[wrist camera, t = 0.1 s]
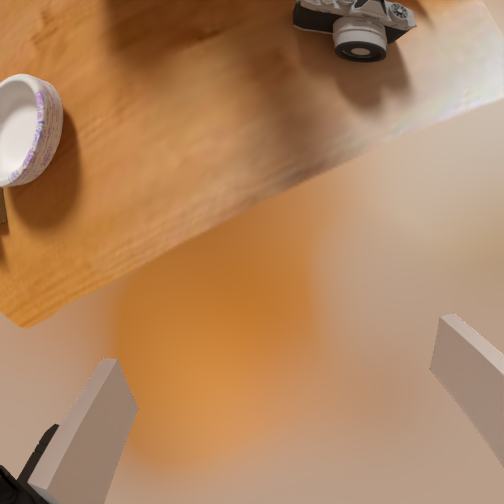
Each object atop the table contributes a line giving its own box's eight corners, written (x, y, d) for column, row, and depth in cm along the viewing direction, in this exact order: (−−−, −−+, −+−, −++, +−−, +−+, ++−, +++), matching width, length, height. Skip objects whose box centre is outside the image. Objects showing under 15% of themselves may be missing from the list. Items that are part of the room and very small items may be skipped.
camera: (287, 55, 32) (300, 22, 23) (287, 2, 30) (298, -38, 20) (397, 74, 33) (435, 54, 23) (392, 22, 31) (424, -5, 21)
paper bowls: (10, 92, 31) (-21, 85, 23) (83, 77, 32) (53, 62, 24) (1, 183, 35) (-32, 189, 27) (71, 183, 36) (38, 187, 28)
